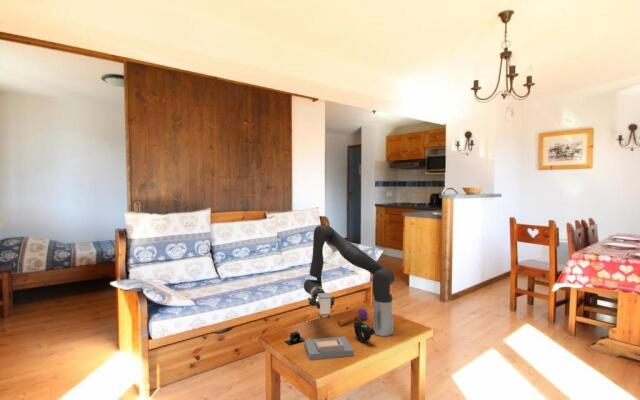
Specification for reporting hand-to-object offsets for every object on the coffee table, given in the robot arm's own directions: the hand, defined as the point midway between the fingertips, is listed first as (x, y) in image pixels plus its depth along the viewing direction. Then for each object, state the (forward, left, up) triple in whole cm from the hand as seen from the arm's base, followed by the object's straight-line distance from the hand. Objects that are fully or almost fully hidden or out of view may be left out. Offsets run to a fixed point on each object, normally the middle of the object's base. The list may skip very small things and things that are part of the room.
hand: (325, 306), depth 162 cm
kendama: (-21, -22, -18) cm, 35 cm away
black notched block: (+14, -4, -19) cm, 24 cm away
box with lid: (0, -3, -6) cm, 7 cm away
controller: (-19, +3, -18) cm, 26 cm away
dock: (0, +8, -18) cm, 19 cm away
